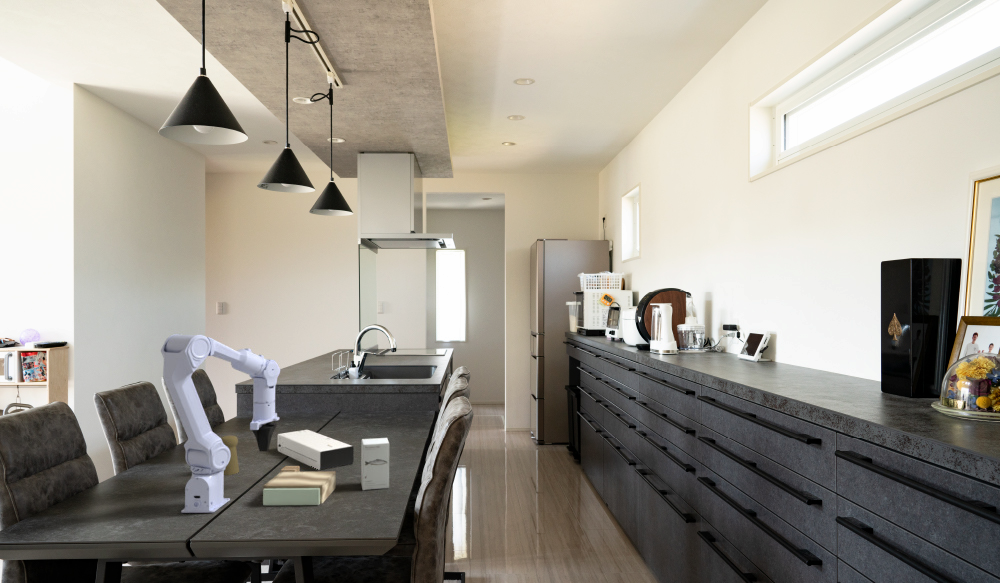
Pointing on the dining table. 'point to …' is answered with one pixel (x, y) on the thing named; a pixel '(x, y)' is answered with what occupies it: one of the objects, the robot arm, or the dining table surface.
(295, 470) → the pedestal
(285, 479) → the block
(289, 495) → the tray
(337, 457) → the laminator
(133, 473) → the dining table surface
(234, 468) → the pepper mill
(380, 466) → the supplement box
